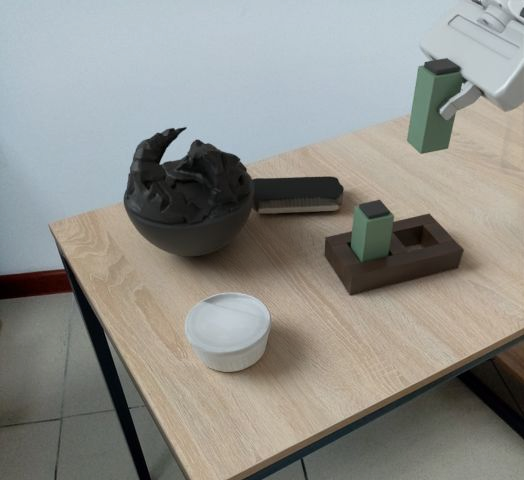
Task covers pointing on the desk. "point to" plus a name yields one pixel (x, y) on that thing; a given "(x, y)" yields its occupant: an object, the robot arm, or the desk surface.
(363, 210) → the green square peg
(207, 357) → the ramekin
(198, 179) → the dark sculpted bowl
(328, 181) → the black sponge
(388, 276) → the socket block
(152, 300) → the desk surface
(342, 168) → the desk surface
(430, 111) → the green capped post
